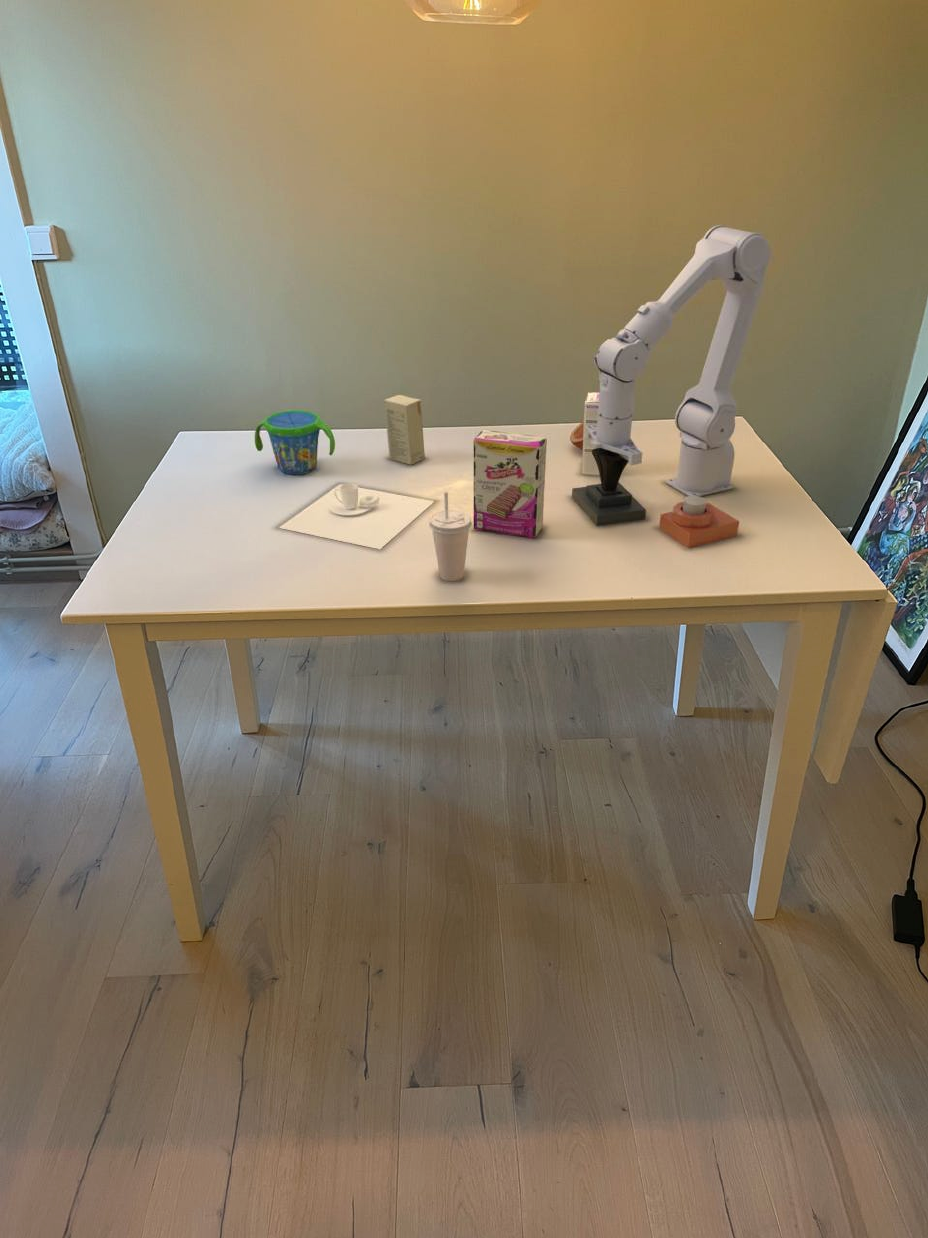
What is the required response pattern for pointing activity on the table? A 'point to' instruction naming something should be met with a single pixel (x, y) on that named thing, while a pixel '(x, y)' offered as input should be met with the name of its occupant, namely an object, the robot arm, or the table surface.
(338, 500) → the teacup and saucer
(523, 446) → the candy bar box
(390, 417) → the cosmetic box
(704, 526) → the orange knob plate
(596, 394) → the syrup box
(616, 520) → the dark gray socket plate
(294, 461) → the snack cup
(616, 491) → the dark top block
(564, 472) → the table surface
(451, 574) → the smoothie
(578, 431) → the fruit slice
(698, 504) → the gray push button
